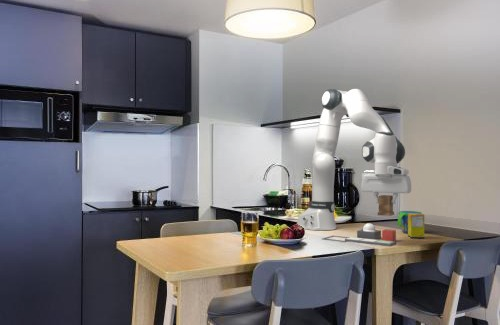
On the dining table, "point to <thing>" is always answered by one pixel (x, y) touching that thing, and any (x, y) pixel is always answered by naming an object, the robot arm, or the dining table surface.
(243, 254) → the dining table surface
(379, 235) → the dome housing
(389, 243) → the game track
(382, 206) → the brown wooden block
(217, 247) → the dining table surface
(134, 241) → the dining table surface
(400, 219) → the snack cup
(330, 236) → the pad
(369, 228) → the dome button
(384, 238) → the red die
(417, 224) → the supplement box
